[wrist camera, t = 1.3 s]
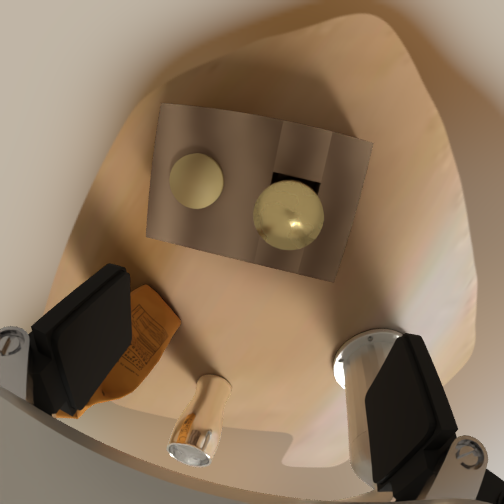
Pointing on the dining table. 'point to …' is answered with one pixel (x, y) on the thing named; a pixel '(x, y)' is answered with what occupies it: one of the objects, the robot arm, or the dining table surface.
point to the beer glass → (200, 423)
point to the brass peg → (288, 215)
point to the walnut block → (250, 184)
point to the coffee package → (137, 347)
